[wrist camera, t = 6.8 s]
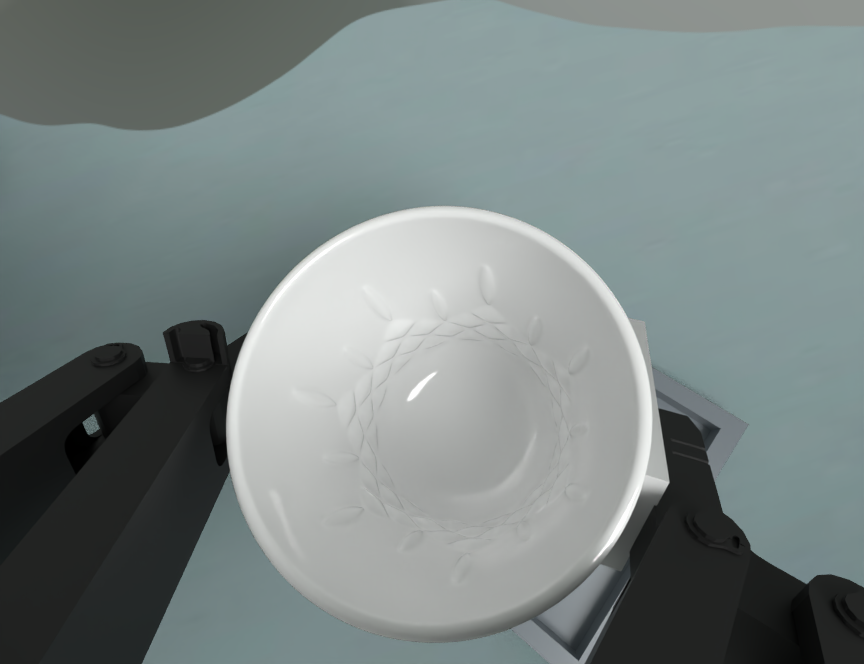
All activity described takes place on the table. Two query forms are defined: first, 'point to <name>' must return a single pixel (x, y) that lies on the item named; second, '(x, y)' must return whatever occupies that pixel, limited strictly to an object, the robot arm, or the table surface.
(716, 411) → the tray
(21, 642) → the robot arm
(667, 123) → the table surface
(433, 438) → the white cup
